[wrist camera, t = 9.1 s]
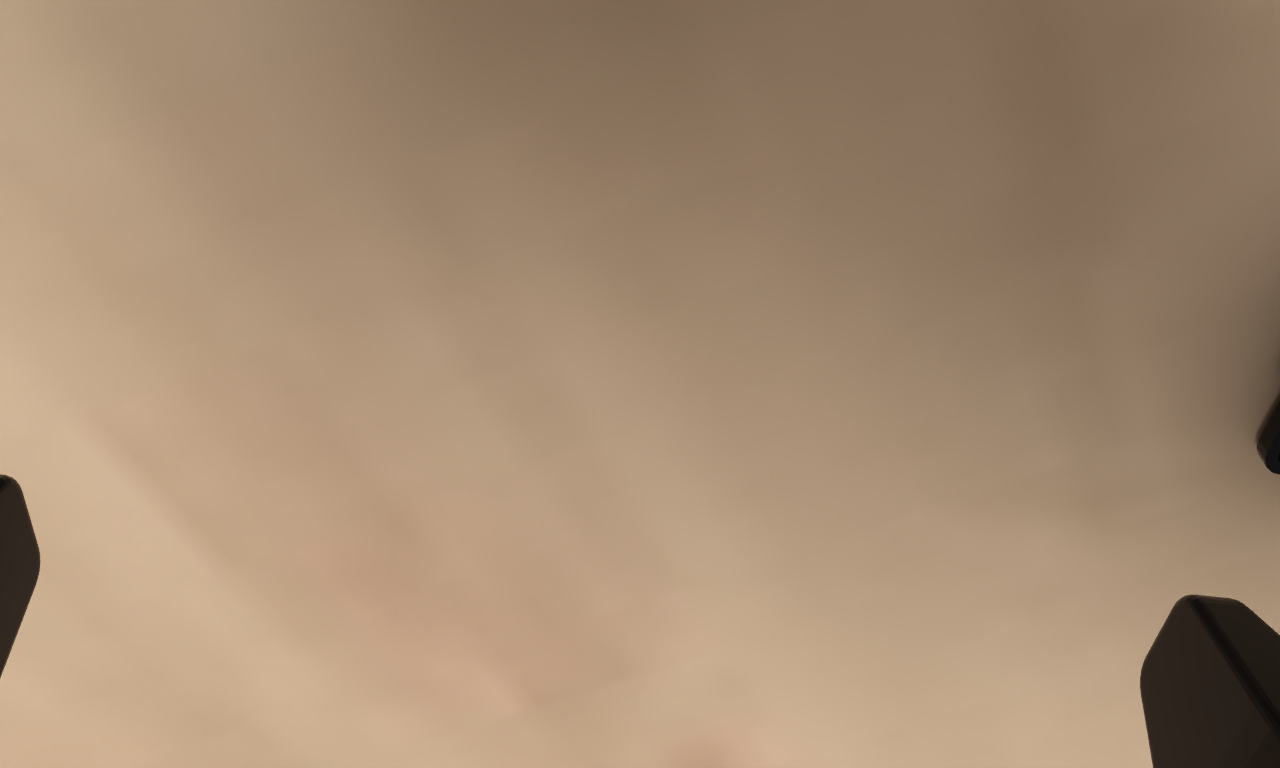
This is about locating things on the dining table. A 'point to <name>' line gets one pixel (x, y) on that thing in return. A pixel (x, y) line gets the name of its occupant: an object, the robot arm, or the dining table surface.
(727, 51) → the dining table surface
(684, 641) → the dining table surface
